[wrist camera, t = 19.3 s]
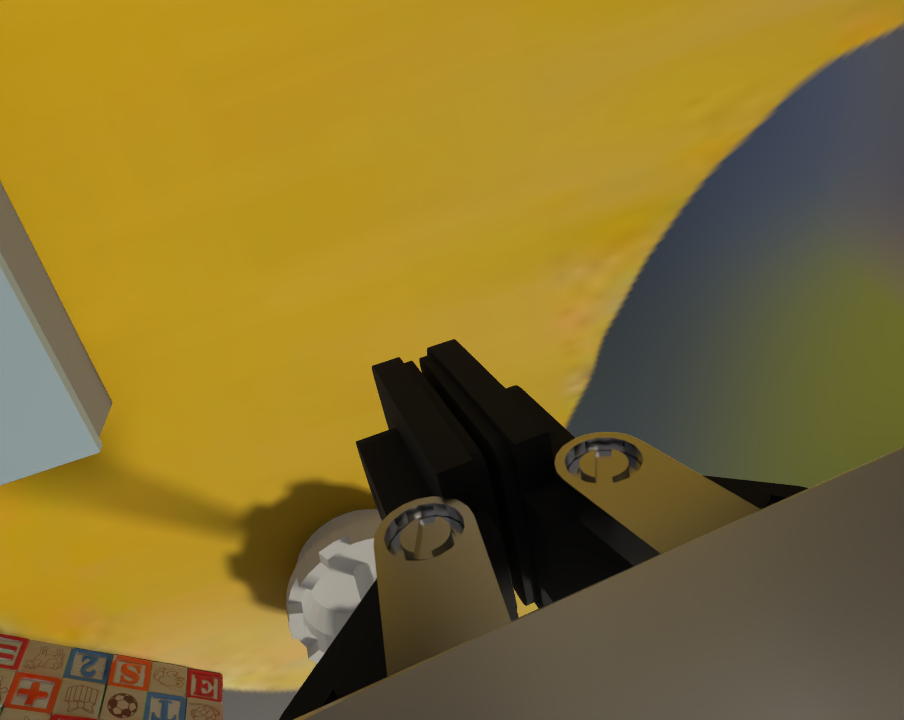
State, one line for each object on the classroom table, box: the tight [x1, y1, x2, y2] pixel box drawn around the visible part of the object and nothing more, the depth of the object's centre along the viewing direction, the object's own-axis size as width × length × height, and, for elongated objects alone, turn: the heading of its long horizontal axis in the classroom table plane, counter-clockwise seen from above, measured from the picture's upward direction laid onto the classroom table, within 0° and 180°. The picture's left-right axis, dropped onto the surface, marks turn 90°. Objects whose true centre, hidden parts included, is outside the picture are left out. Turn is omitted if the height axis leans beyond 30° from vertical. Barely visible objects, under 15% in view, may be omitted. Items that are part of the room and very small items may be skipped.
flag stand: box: [286, 509, 382, 663], centre depth 40 cm, size 13×13×30 cm
